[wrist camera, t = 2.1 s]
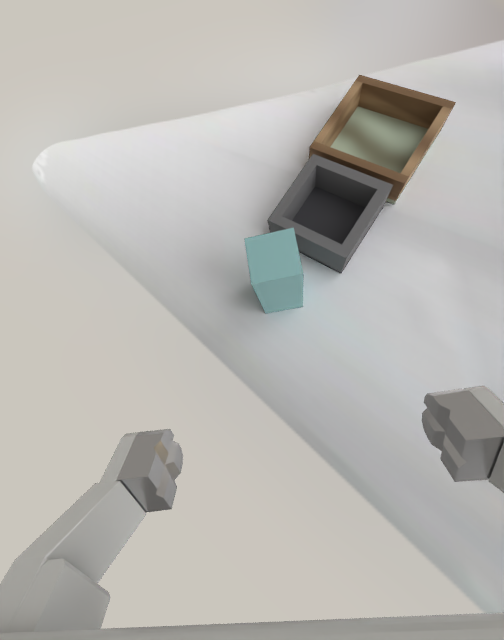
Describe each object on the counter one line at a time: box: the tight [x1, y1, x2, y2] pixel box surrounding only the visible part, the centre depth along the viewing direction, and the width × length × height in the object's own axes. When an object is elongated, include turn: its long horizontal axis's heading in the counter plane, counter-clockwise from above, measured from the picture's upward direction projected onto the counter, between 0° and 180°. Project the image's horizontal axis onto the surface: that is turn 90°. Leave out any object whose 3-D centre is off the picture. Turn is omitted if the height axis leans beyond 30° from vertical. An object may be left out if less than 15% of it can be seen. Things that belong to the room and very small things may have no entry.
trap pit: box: [268, 154, 393, 273], centre depth 33 cm, size 10×10×4 cm
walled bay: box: [309, 75, 456, 204], centre depth 34 cm, size 12×12×4 cm
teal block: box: [245, 228, 303, 313], centre depth 29 cm, size 4×4×10 cm
